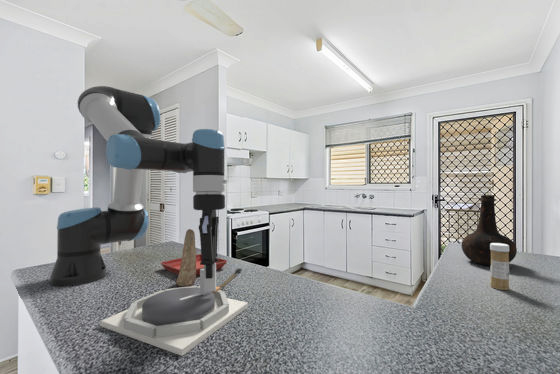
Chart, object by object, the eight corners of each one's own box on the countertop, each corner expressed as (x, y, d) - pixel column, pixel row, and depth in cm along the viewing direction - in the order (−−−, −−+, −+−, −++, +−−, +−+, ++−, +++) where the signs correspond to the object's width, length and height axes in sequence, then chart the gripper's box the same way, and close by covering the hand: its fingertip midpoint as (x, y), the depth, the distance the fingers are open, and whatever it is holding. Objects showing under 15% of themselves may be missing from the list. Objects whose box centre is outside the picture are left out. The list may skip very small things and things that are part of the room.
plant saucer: (159, 270, 100) (159, 261, 100) (201, 261, 113) (201, 253, 113) (184, 281, 88) (184, 271, 88) (228, 269, 102) (228, 260, 102)
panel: (100, 326, 58) (101, 309, 59) (179, 291, 79) (179, 279, 79) (182, 356, 48) (182, 335, 48) (248, 306, 68) (248, 292, 68)
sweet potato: (178, 290, 81) (198, 287, 84) (182, 233, 79) (203, 232, 82) (173, 281, 86) (193, 278, 90) (177, 227, 84) (197, 226, 88)
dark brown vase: (470, 267, 103) (470, 195, 103) (455, 256, 120) (455, 194, 120) (527, 272, 98) (527, 195, 98) (502, 259, 115) (502, 194, 115)
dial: (155, 336, 52) (156, 293, 52) (133, 309, 64) (133, 273, 64) (227, 311, 63) (227, 275, 63) (196, 291, 75) (197, 261, 75)
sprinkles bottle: (496, 284, 85) (496, 242, 85) (513, 289, 80) (512, 244, 80) (486, 286, 83) (486, 243, 83) (503, 291, 79) (503, 246, 79)
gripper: (220, 193, 59) (222, 300, 59) (227, 193, 72) (228, 280, 72) (186, 193, 59) (187, 301, 58) (199, 193, 72) (200, 282, 71)
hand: (210, 290), depth 65 cm, fingers closed
